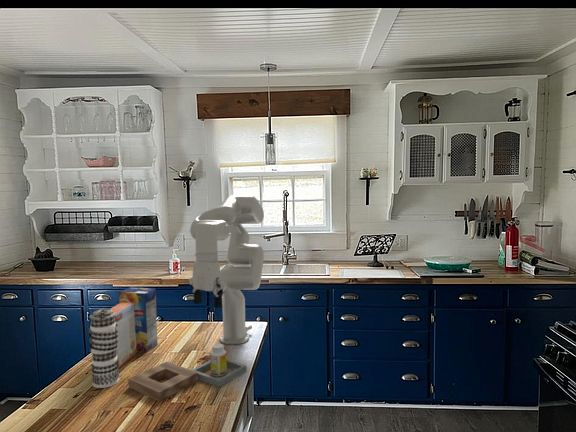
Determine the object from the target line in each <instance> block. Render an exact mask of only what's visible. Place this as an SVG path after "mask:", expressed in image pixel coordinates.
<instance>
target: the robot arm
mask: <svg viewBox="0 0 576 432" xmlns="http://www.w3.org/2000/svg"><path fill="white" fill-rule="evenodd" d="M264 212H265V211H264V209H263V207H262V205H261V203H260V202H259V200H258V199H257V197H255V196H253V194H252V195H251V194H233V195H232V194H231V195H229V196H227V197H226V198H225V199H224V200H223V201H222V202H221V203H220V204H219V206H218V207H214V208H212V209H209V210H207V211H204V212H201V213H200V214H198V215H197V216H196V217H195V219H194V220H193V221H192V223H191V225H190V228H189V229H190V230H189V233H190V236H191V237H192V239H194V240H195V253H194V256H195V260H194V262H193V266H192V267H193V268H192V276H191V278H189V279H188V281H189V284H190V285H189V286H190V288H191V290H192V294H193V303H194V305H197V304H200V303H202V302H203V300H202V299H203V298H202V295H203V294H202V291H205V292H212V293H213V294H214V297H213V308H214V309H218V308H221V307H222V330H223V331H222V334H221V335H220V336H219V341H220V342H221V344H223V345H232V346H233V345H240V344H244V343H247V342H248V341H249V339H250V335H249V333H248V331H250V330H252V328H253V326H252V325H251V324H249V325H246V302H245V301H246V298H245V296H244V293H243V292H242V291H241V290H243V291H245V290H247V291H248V290H249V291H254V290H255V291H256V290H258V289H259V288H260V285H261V280H262V275H263V274H262V273H263V268H264V267H263V265H264V258H265V256H264V249H263V247H262V246H261V245H259V244H254V243H252V244H251V243H250V234H249V232H248V231H247V229H246V228H245V227H244V226H243V225H259V224H261V223H262V222H263V221H264V219H265V213H264ZM229 236H230V238H229V243H228V249H227V255H226V260H227V263H228V264H229V265H231V266H226V267H224V268H222V269H221V268H220V267H221V266H220V261H219V260H218V259H219V258H218V257H219V256H218V255H219V254H218V242H219V241H224V240H226V239H228V237H229Z"/></svg>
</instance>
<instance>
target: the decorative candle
mask: <svg viewBox="0 0 576 432" xmlns="http://www.w3.org/2000/svg"><path fill="white" fill-rule="evenodd" d="M115 314H116V313H115V312H113V311H112V310H111V308H100V309H96V310H95V311H93V312H92V314H90V315H89V319H90V325H89V326H90V327H88V329H87V331H88V337H89V340H88V341H89V347H90V352H91V355H92V358H91V363H92V364H91V373H92V374H91V382H92V387H94V388H97V389H104V388H109V387H113V386H115V385H116V384H118V383H119V382H120V378H119V377H120V368H118V367H119V365H118V362H119V361H118V359H117V354H116V352H117V351H116V349H117V347H118V345H117V343H118V341H117V340H116V338H117V337H118V335H117V332H118V330H116V329H115V327H116V326H118V325H117V324H116V322H115V317H114V316H115Z"/></svg>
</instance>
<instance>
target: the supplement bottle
mask: <svg viewBox="0 0 576 432" xmlns="http://www.w3.org/2000/svg"><path fill="white" fill-rule="evenodd" d="M224 345H225V344H224V343H215V344H213V345H212V346H211V347H212V349H211V350H210V353H209V355H210V357H209V358H210V360H211V368H210V374H211V376H212V377H215V378H219V377H223V376H225V375H227V371H228V370H227V368H228V367H227V364H226V359H227V350H226V349H225V346H224ZM210 360H209V361H210Z"/></svg>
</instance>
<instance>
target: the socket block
mask: <svg viewBox="0 0 576 432" xmlns="http://www.w3.org/2000/svg"><path fill="white" fill-rule="evenodd" d="M165 378H167V380H165V381H163V382H162V383H161V382H160V380H162V379H165ZM127 382H128V389H131V390H134V391H136V392H138V393H139V394H142V395H144V396H147V397H149V398H151V399H152V400H156V401H157V402H160V403H161V402H162V401H164V400H166V399H167V398H169V397H171V396H173V395H174V394H177V393H178V392H181V391H182V390H184V389H186V388H188V387H190V386H192V385H194V384H195V383H197V382H199V379H198V373H197V372H195V371H192V369H189V368H186V367H183V366H181V365H178V364H175V363H173V362H170V361H164V362H163V363H160V364H158V365H155V366H154V367H151V368H149V369H146V370H145V371H143V372H141V373H138V374H136V375H134V376H132V377H129V378H128V379H127Z"/></svg>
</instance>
